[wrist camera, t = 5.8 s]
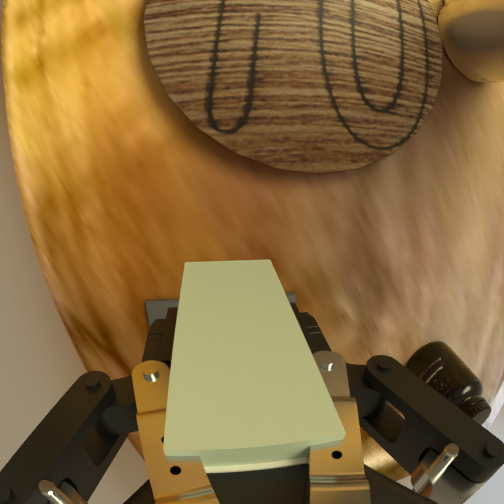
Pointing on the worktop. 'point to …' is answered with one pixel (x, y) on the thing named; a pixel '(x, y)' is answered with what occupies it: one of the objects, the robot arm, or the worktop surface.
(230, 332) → the block
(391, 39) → the trivet
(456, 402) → the supplement bottle
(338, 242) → the worktop surface
